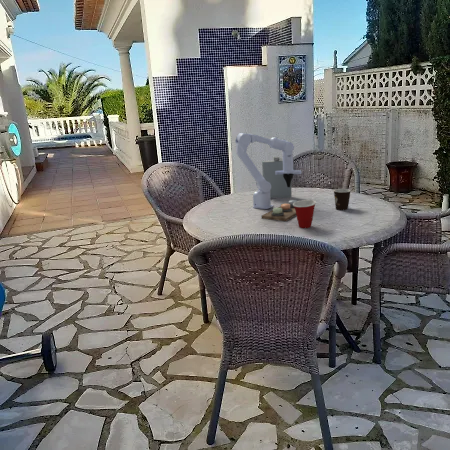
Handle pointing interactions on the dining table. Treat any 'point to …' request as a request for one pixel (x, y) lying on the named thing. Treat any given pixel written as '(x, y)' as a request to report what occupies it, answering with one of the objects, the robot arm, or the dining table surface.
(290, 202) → the slate button
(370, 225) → the dining table surface
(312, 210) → the plastic cup
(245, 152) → the robot arm
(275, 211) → the sage button
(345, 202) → the coffee mug
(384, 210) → the dining table surface
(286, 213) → the button board
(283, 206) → the terracotta button
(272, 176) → the grey upright box
